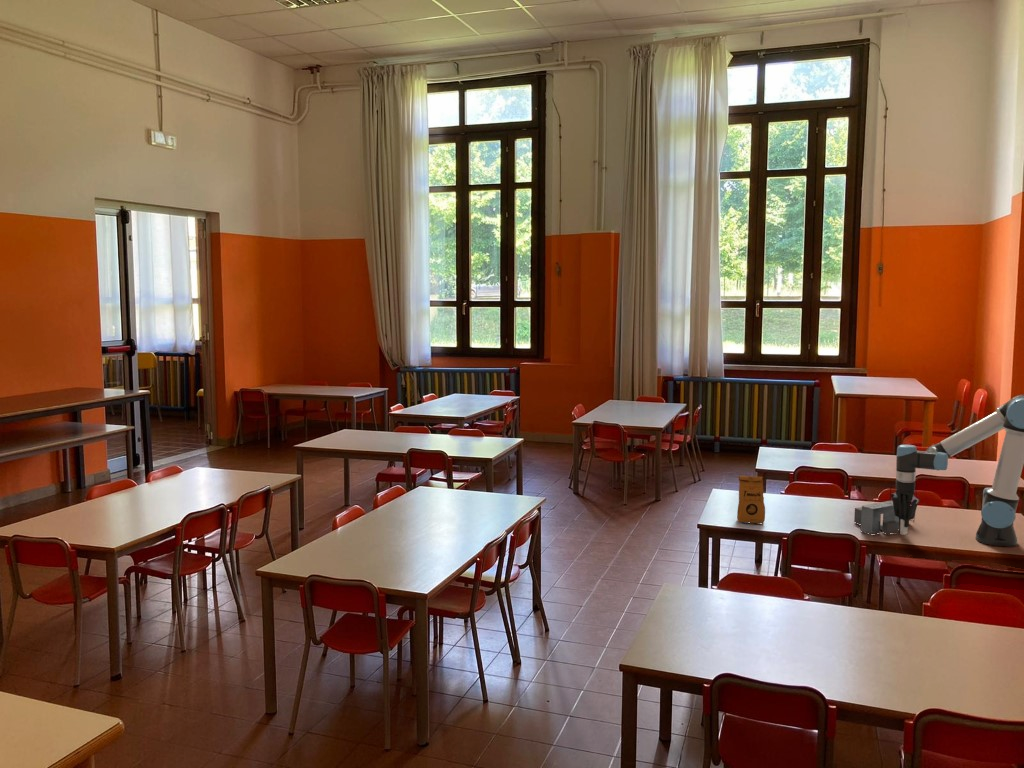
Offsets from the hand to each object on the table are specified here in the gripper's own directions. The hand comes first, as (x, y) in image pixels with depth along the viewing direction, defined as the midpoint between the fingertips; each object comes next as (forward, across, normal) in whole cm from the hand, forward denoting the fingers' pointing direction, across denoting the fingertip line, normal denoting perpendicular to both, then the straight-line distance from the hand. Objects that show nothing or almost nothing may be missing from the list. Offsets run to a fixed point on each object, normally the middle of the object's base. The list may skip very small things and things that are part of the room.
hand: (903, 533), depth 348 cm
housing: (+2, -11, 0) cm, 11 cm away
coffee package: (+1, -48, -42) cm, 64 cm away
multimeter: (+2, -19, +20) cm, 28 cm away
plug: (+2, -15, +1) cm, 15 cm away
